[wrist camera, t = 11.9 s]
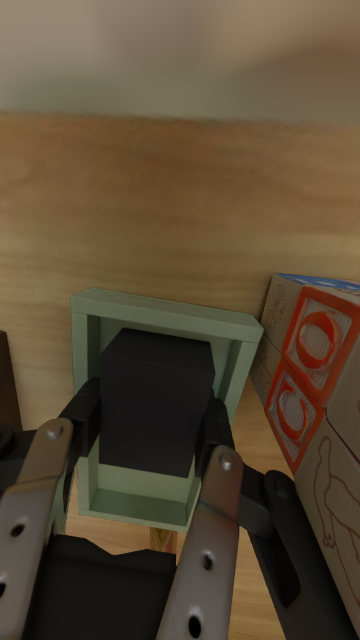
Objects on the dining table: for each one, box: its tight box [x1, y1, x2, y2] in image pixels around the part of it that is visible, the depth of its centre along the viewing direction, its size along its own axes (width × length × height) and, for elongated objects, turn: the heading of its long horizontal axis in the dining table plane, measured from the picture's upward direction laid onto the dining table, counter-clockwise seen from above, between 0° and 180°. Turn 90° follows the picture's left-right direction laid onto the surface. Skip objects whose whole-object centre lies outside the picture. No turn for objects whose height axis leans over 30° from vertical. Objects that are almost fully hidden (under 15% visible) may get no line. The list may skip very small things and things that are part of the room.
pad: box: [99, 327, 216, 478], centre depth 11 cm, size 7×5×3 cm
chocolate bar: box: [150, 527, 177, 554], centre depth 20 cm, size 3×12×2 cm, turn 178°
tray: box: [70, 287, 264, 533], centre depth 13 cm, size 18×9×2 cm, turn 171°
